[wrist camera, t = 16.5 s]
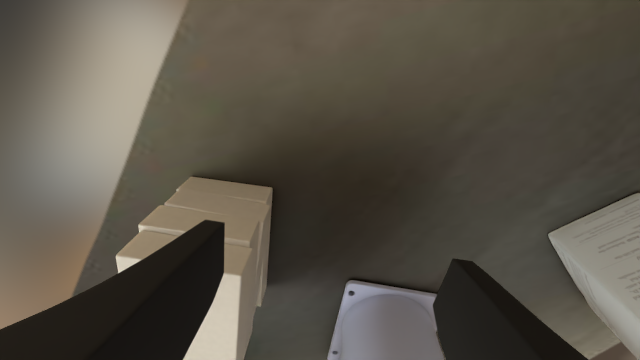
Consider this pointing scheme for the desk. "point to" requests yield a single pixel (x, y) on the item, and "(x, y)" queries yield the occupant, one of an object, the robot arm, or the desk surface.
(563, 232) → the cosmetic box
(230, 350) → the white book
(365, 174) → the desk surface
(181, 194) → the white book
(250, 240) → the white book
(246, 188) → the white book
